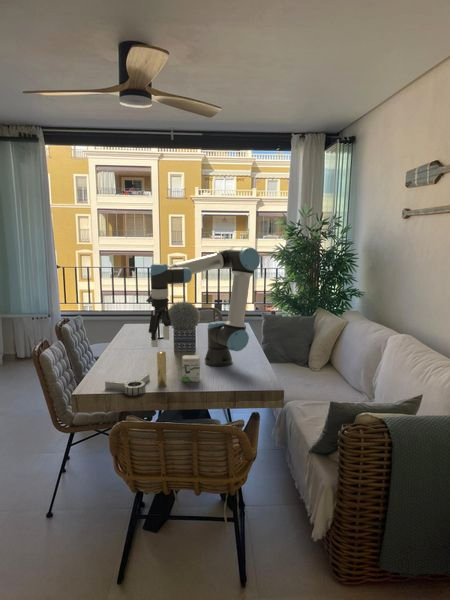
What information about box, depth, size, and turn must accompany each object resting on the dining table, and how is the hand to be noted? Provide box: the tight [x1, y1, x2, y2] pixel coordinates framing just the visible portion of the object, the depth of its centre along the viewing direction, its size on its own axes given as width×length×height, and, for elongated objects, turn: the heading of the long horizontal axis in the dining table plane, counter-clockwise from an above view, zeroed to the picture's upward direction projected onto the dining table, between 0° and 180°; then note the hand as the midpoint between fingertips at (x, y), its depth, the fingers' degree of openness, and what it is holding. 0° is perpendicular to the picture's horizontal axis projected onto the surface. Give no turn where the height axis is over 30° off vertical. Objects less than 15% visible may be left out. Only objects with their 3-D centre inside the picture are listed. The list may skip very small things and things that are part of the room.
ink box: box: [181, 354, 201, 383], centre depth 190 cm, size 9×5×12 cm, turn 94°
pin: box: [156, 350, 167, 388], centre depth 183 cm, size 4×4×16 cm
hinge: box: [104, 373, 151, 396], centre depth 182 cm, size 19×19×4 cm
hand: (160, 343), depth 181 cm, fingers open, 13 cm apart
